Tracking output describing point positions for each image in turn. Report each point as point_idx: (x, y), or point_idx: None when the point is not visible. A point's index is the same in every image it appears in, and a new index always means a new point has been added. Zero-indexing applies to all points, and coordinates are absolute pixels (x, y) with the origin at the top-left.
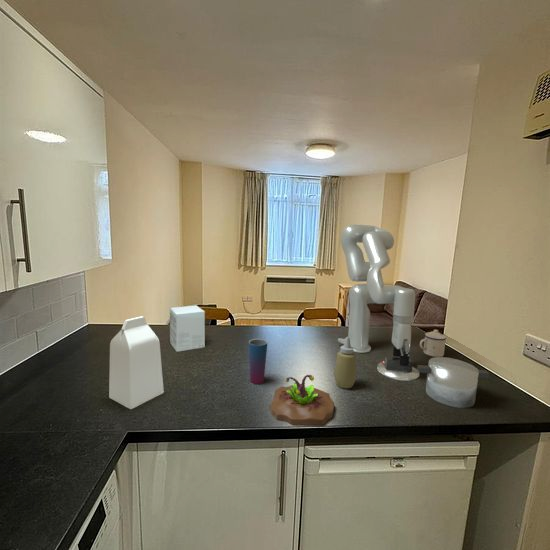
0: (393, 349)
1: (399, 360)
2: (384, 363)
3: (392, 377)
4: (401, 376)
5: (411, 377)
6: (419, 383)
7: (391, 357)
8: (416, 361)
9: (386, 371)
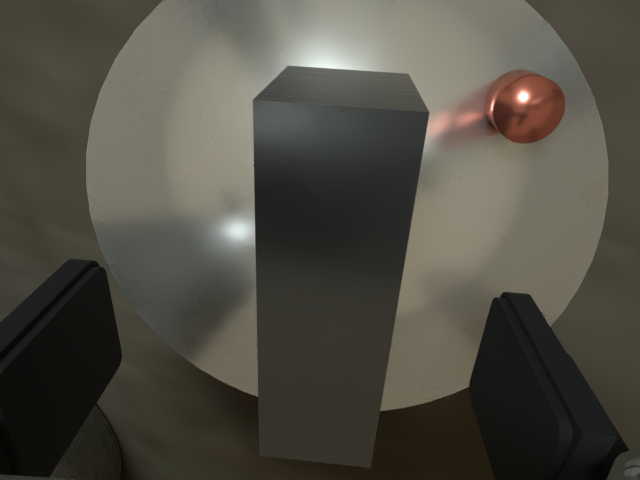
0: (571, 377)
1: (263, 313)
2: (490, 101)
3: (106, 93)
4: (132, 208)
5: (145, 301)
6: None
7: (386, 227)
8: None
9: (234, 53)
